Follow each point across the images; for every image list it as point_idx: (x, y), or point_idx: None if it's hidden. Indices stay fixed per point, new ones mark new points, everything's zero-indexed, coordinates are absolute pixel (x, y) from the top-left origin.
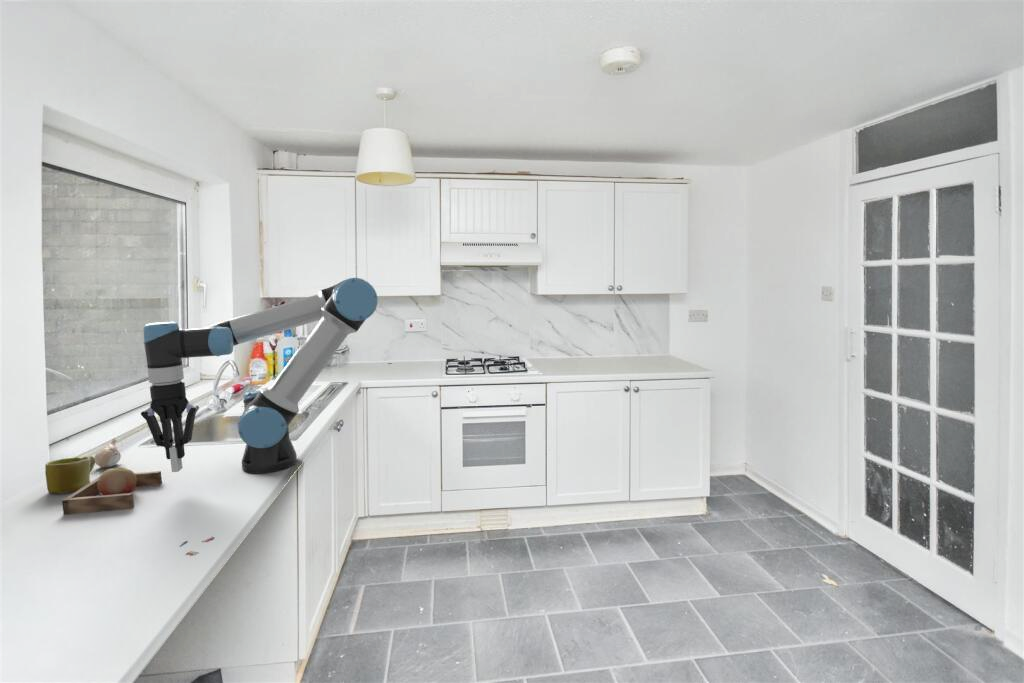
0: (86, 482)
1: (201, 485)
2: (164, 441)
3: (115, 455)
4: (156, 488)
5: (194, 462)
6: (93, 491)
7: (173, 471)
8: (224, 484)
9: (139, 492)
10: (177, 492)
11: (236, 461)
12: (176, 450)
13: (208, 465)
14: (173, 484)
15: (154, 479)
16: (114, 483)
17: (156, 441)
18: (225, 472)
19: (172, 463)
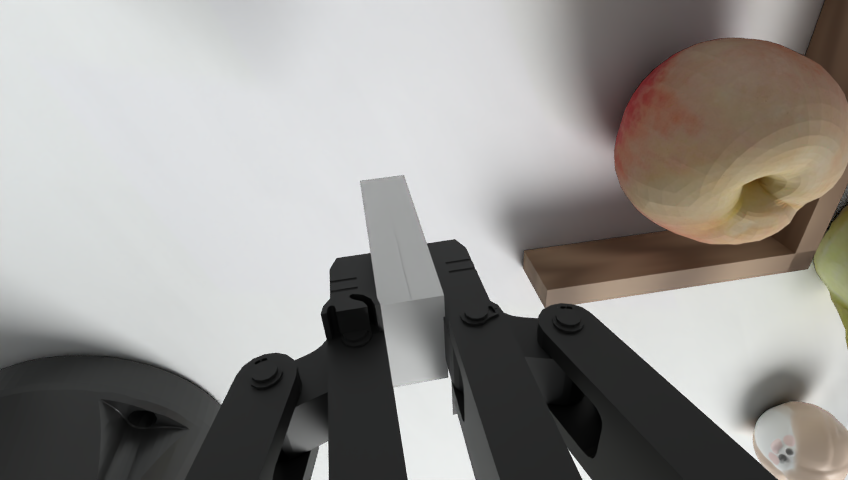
0: (841, 248)
1: (302, 230)
2: (510, 351)
3: (782, 451)
4: (522, 210)
5: None
6: None
7: (393, 179)
8: (171, 233)
9: (586, 168)
10: (384, 147)
11: None
12: (376, 294)
13: (408, 428)
14: None
15: (556, 265)
16: (737, 57)
17: (602, 342)
18: None
19: (402, 210)
